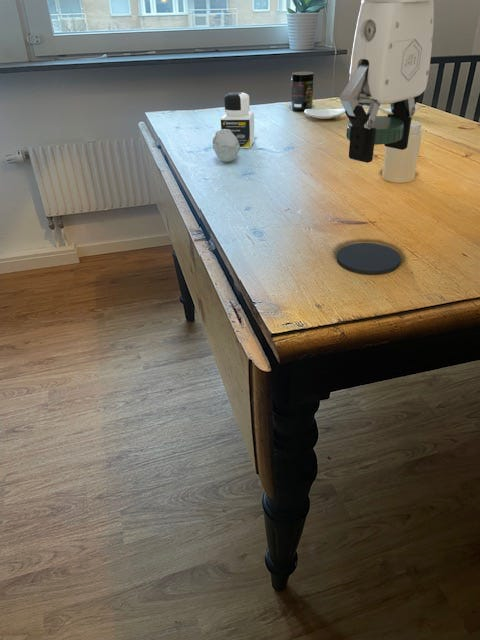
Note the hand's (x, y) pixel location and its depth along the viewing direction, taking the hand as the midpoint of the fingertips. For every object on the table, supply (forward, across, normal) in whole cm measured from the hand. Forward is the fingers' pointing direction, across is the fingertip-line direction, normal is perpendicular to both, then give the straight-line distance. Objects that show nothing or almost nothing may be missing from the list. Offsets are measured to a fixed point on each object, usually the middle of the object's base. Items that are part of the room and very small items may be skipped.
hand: (378, 152), depth 64 cm
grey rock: (+16, +19, +52) cm, 58 cm away
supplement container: (+15, +70, +75) cm, 104 cm away
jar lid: (-3, 0, +1) cm, 3 cm away
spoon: (+15, +72, +55) cm, 92 cm away
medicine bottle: (+16, +30, +61) cm, 69 cm away
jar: (+15, +34, +17) cm, 41 cm away
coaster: (+15, 0, 0) cm, 15 cm away
